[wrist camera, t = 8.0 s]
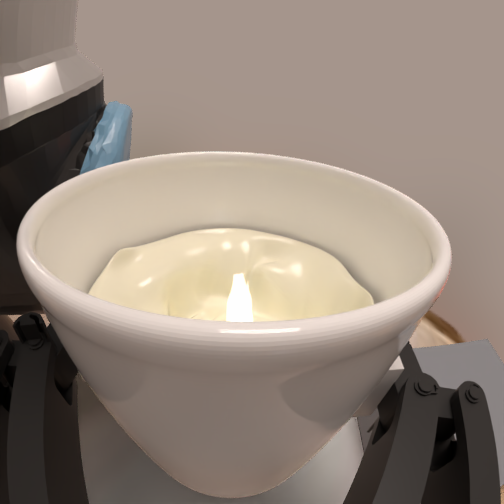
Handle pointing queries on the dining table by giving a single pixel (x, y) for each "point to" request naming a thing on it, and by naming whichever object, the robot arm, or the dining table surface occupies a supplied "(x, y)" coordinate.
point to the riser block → (454, 374)
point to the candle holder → (231, 302)
